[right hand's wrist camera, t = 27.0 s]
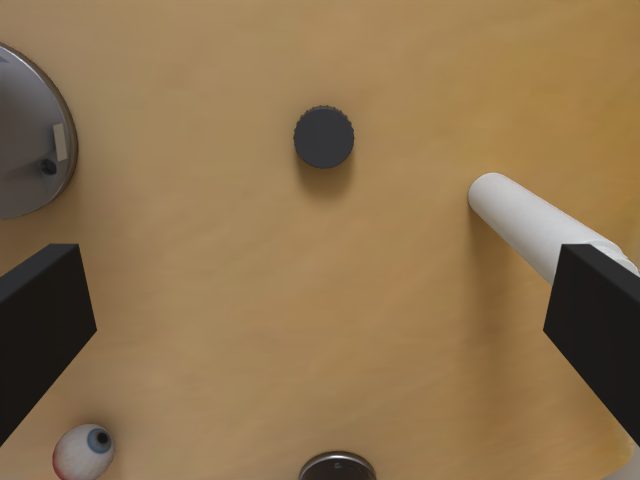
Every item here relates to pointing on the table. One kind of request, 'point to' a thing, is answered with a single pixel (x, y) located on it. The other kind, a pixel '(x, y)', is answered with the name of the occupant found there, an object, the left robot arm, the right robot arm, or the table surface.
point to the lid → (323, 137)
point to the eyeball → (83, 453)
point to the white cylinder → (534, 224)
